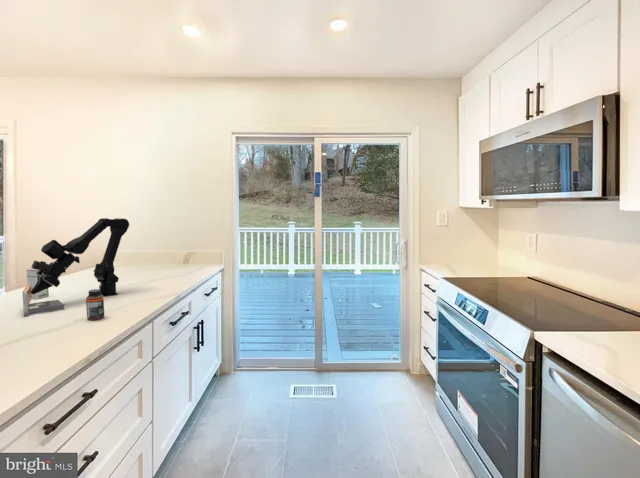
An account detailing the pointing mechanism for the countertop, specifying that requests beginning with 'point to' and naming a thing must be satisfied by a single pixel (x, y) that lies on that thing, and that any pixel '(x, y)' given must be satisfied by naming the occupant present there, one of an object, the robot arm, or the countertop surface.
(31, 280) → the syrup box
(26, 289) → the peach rectangular plank
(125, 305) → the countertop surface
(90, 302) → the supplement bottle
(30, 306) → the plate
